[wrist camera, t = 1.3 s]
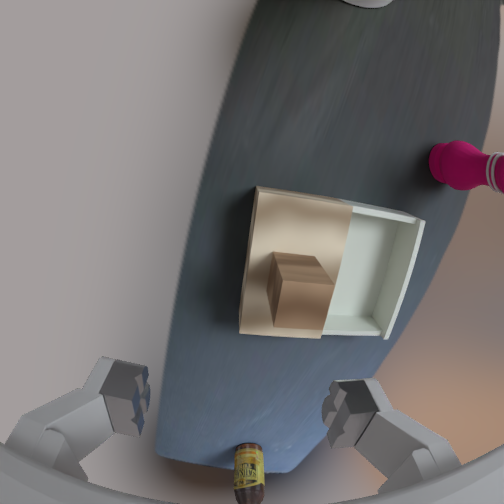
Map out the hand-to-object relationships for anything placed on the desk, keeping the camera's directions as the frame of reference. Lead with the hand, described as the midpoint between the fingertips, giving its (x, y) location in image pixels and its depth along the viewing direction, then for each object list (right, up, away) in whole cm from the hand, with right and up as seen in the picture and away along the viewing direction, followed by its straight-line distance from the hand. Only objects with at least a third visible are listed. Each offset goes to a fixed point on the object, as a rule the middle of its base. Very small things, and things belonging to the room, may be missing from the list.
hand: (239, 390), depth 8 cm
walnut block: (+5, +2, +26) cm, 27 cm away
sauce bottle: (-1, -40, +47) cm, 61 cm away
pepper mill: (+30, +18, +29) cm, 45 cm away
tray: (+16, +2, +33) cm, 37 cm away
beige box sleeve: (+5, +4, +32) cm, 33 cm away
